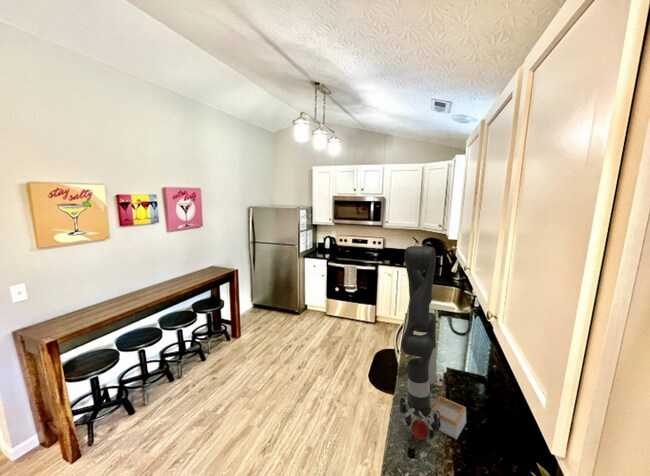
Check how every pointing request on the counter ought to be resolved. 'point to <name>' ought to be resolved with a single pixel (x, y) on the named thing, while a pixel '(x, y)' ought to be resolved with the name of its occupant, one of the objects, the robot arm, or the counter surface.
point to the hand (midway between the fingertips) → (420, 430)
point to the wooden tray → (450, 416)
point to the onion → (419, 429)
